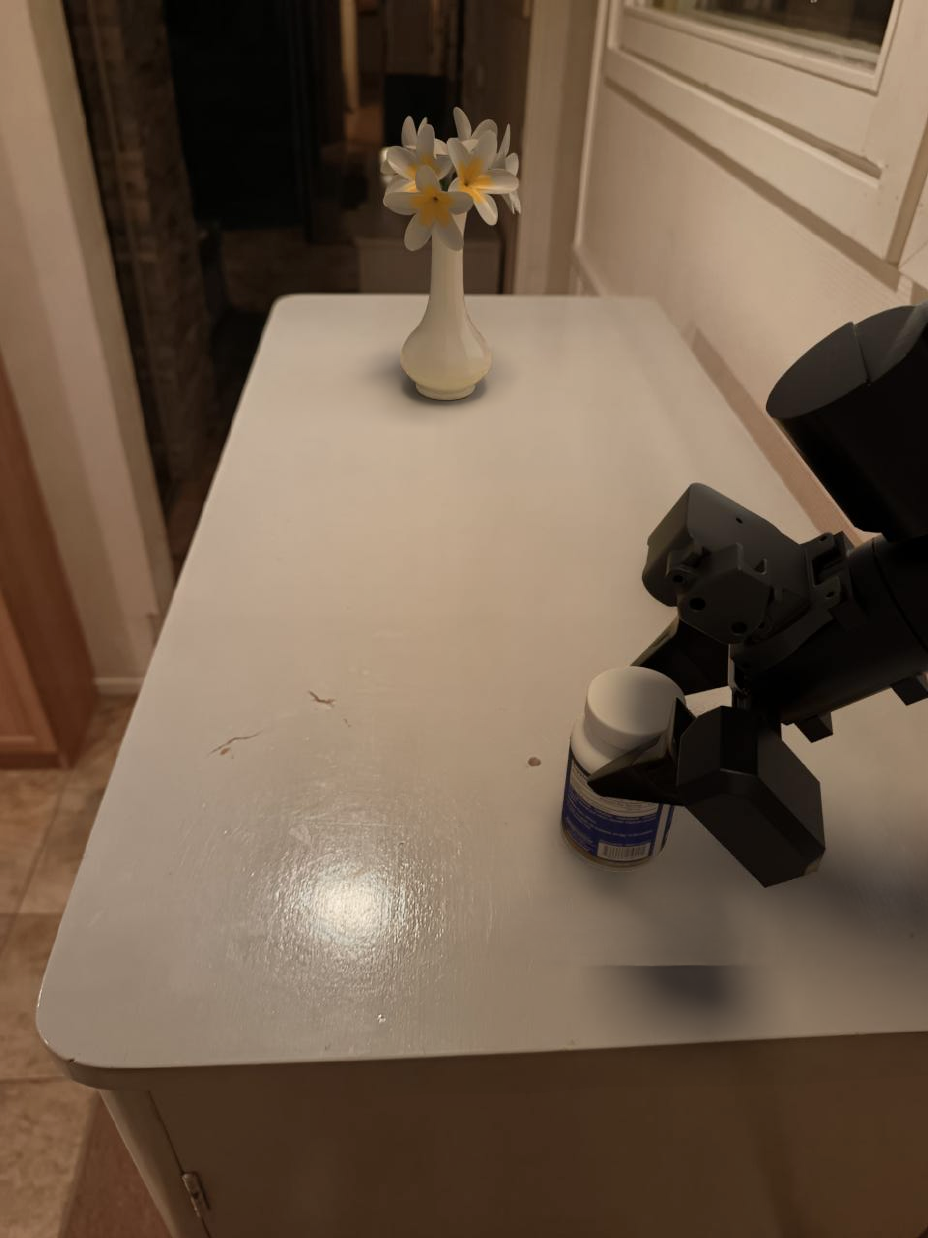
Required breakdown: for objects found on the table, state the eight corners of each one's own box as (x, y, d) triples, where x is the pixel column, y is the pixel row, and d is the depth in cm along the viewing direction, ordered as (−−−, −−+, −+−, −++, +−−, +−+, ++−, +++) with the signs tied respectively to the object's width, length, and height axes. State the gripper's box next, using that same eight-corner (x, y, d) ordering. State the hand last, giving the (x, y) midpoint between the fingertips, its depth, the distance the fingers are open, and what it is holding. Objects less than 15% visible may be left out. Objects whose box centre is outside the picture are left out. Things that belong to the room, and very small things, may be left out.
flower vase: (381, 430, 84) (371, 137, 69) (391, 355, 99) (384, 99, 83) (516, 432, 85) (537, 141, 69) (506, 357, 99) (521, 103, 83)
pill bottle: (603, 775, 51) (626, 642, 44) (687, 833, 47) (723, 698, 41) (537, 830, 47) (551, 695, 41) (621, 897, 44) (651, 761, 38)
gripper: (787, 357, 39) (529, 530, 48) (811, 598, 25) (439, 781, 34) (915, 531, 43) (653, 663, 52) (1000, 830, 29) (618, 941, 37)
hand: (600, 741), depth 44 cm, fingers closed on pill bottle, 6 cm apart
